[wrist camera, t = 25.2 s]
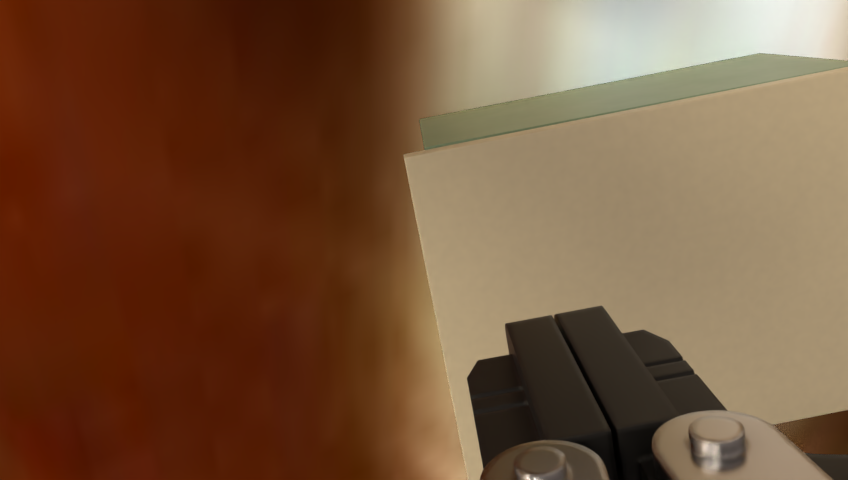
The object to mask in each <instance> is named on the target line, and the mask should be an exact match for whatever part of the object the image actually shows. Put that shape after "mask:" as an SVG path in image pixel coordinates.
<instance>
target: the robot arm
mask: <svg viewBox="0 0 848 480" xmlns="http://www.w3.org/2000/svg"><path fill="white" fill-rule="evenodd" d="M505 332H506V338H507V344H508V350H509V355H504V356H498V357H493V358H487V359H482V360H478V361H477V362H476V364H475V366H474V367H473V369H472V370H471V372H470V374H469V375H468V377H467V382H468V387H469V393H470V398H471V404H472V409H473V415H474V420H475V426H476V431H477V437H478V442H479V448H480V453H481V459H482V464H483V471H482V474H481V476H480V480H848V455H826V454H810V453H804V452H803V451H801V450H800V449H799V448H798V447H797V446H796V445H795V444H794V443H793V442H792V441H790V440H789V439H788V438H787V437H786V436H785V435H784V434H783V433H782V432H781V431H779V430H778V429H777V428H776V427H774V426H773V425H772V424H770V423H768V422H766V421H765V420H763V419H760V418H758V417H755V416H752V415H748V414H745V413H740V412H734V411H728V410H727V409H726V408H725V407H724V406H723V405H722V403H721V402H720V401H719V400H718V399H717V397H716V396H715V395H714V394H713V393H712V391H711V390H710V389H709V388H708V387H707V385H706V384H705V383H704V382H703V381H702V379H701V378H700V377H699V376H698V375H697V374H695V373H694V370H693V369H692V368H691V366H690V365H689V364H688V363H687V362H686V360H683V357H682V356H681V354H680V353H679V352H678V351H677V350H676V349H675V347H674V346H673V345H672V344H671V343H670V341H668V340H666V339H664V338H662V337H659V336H657V335H655V334H653V333H650V332H648V331H646V330H644V329H643V330H638V331H632V332H627V333H622V332H621V331H620V330H619V328H618V327H617V325H616V324H615V323H614V321H613V320H612V318H611V317H610V315H609V314H608V313H607V311H606V310H605V308H604V307H603V306H596V307H590V308H585V309H580V310H574V311H569V312H563V313H558V314H555V315H554V318H553V316H552V315H548V316H543V317H537V318H532V319H527V320H521V321H516V322H511V323H505Z"/></svg>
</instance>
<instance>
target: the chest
mask: <svg viewBox="0 0 848 480" xmlns="http://www.w3.org/2000/svg"><path fill="white" fill-rule="evenodd" d="M843 67H848V61H845V60H834V59H822V58H810V57H799V56H787V55H775V54H763V53H759V54H754V55H748V56H743V57H738V58H733V59H728V60H722V61H717V62H712V63H707V64H702V65H697V66H691V67H686V68H681V69H676V70H671V71H666V72H660V73H655V74H650V75H645V76H640V77H635V78H629V79H624V80H619V81H614V82H609V83H604V84H598V85H593V86H588V87H583V88H578V89H572V90H567V91H562V92H557V93H552V94H547V95H541V96H536V97H531V98H526V99H521V100H516V101H510V102H505V103H500V104H495V105H490V106H485V107H479V108H474V109H469V110H464V111H459V112H454V113H448V114H443V115H438V116H433V117H428V118H423V119H419V122H420V127H421V133H422V138H423V144H424V150H428V149H433V148H438V147H443V146H448V145H453V144H458V143H463V142H468V141H473V140H479V139H484V138H489V137H494V136H499V135H504V134H509V133H514V132H519V131H524V130H529V129H534V128H539V127H544V126H549V125H555V124H560V123H565V122H570V121H575V120H580V119H585V118H590V117H595V116H600V115H605V114H610V113H615V112H620V111H625V110H631V109H636V108H641V107H646V106H651V105H656V104H661V103H666V102H671V101H676V100H681V99H686V98H691V97H696V96H701V95H707V94H712V93H717V92H722V91H727V90H732V89H737V88H742V87H747V86H752V85H757V84H762V83H767V82H772V81H777V80H782V79H788V78H793V77H798V76H803V75H808V74H813V73H818V72H823V71H828V70H833V69H838V68H843Z"/></svg>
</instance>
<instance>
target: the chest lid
mask: <svg viewBox="0 0 848 480" xmlns="http://www.w3.org/2000/svg"><path fill="white" fill-rule="evenodd" d="M404 161H405V166H406V171H407V176H408V181H409V186H410V191H411V196H412V201H413V206H414V211H415V216H416V221H417V226H418V231H419V236H420V241H421V247H422V252H423V257H424V262H425V267H426V272H427V277H428V282H429V287H430V292H431V297H432V302H433V307H434V312H435V317H436V322H437V327H438V332H439V337H440V343H441V348H442V353H443V358H444V363H445V368H446V373H447V378H448V383H449V388H450V393H451V398H452V403H453V408H454V413H455V418H456V423H457V428H458V433H459V438H460V444H461V449H462V454H463V459H464V464H465V469H466V474H467V479H468V480H480V476H481V474H482V471H483V464H482V459H481V453H480V448H479V442H478V437H477V431H476V426H475V420H474V415H473V409H472V404H471V398H470V393H469V387H468V382H467V377H468V375H469V374H470V372H471V370H472V369H473V367H474V366H475V364H476V362H477V361H478V360H482V359H487V358H493V357H498V356H504V355H509V350H508V344H507V338H506V332H505V323H511V322H516V321H521V320H527V319H532V318H537V317H543V316H548V315H552V316H553V318H554V315H555V314H558V313H563V312H569V311H574V310H580V309H585V308H590V307H596V306H603V307H604V308H605V310H606V311H607V313H608V314H609V315H610V317H611V318H612V320H613V321H614V323H615V324H616V325H617V327H618V328H619V330H620V331H621V332H622V333H627V332H632V331H638V330H643V329H644V330H646V331H648V332H650V333H653V334H655V335H657V336H659V337H662V338H664V339H666V340H668V341H670V343H671V344H672V345H673V346H674V347H675V349H676V350H677V351H678V352H679V353H680V354H681V356H682V357H683V360H686V362H687V363H688V364H689V365H690V366H691V368H692V369H693V370H694V373H695V374H697V375H698V376H699V377H700V378H701V379H702V381H703V382H704V383H705V384H706V385H707V387H708V388H709V389H710V390H711V391H712V393H713V394H714V395H715V396H716V397H717V399H718V400H719V401H720V402H721V403H722V405H723V406H724V407H725V408H726V409H727V410H728V411H734V412H740V413H745V414H748V415H752V416H755V417H758V418H760V419H763V420H765V421H766V422H768V423H770V424H772V425H775V424H780V423H785V422H790V421H795V420H800V419H805V418H810V417H815V416H820V415H825V414H830V413H835V412H840V411H845V410H848V67H843V68H838V69H833V70H828V71H823V72H818V73H813V74H808V75H803V76H798V77H793V78H788V79H782V80H777V81H772V82H767V83H762V84H757V85H752V86H747V87H742V88H737V89H732V90H727V91H722V92H717V93H712V94H707V95H701V96H696V97H691V98H686V99H681V100H676V101H671V102H666V103H661V104H656V105H651V106H646V107H641V108H636V109H631V110H625V111H620V112H615V113H610V114H605V115H600V116H595V117H590V118H585V119H580V120H575V121H570V122H565V123H560V124H555V125H549V126H544V127H539V128H534V129H529V130H524V131H519V132H514V133H509V134H504V135H499V136H494V137H489V138H484V139H479V140H473V141H468V142H463V143H458V144H453V145H448V146H443V147H438V148H433V149H428V150H423V151H418V152H413V153H408V154H404Z"/></svg>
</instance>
